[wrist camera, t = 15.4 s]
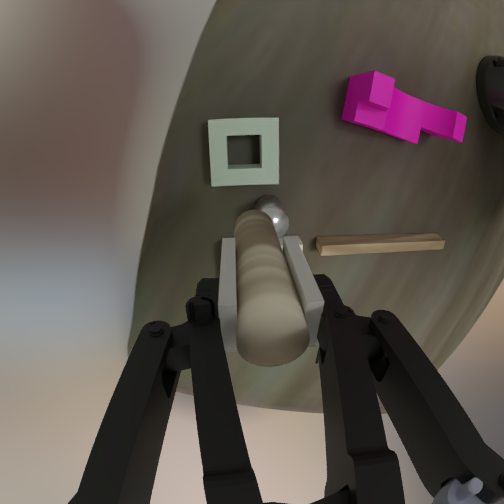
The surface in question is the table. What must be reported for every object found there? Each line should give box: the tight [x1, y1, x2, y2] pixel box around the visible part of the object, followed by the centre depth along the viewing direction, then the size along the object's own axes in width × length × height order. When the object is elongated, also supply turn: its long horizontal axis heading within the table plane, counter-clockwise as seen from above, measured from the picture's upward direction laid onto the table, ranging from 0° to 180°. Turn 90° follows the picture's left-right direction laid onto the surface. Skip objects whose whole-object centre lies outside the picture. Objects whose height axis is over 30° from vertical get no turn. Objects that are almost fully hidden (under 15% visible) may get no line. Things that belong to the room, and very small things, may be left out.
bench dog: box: [255, 195, 289, 238], centre depth 35 cm, size 4×4×6 cm
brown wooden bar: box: [316, 233, 445, 256], centre depth 40 cm, size 2×22×3 cm, turn 91°
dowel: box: [234, 210, 310, 367], centre depth 17 cm, size 3×3×12 cm
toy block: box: [342, 71, 467, 144], centre depth 29 cm, size 15×6×8 cm, turn 80°
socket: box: [208, 118, 279, 187], centre depth 33 cm, size 8×8×3 cm
